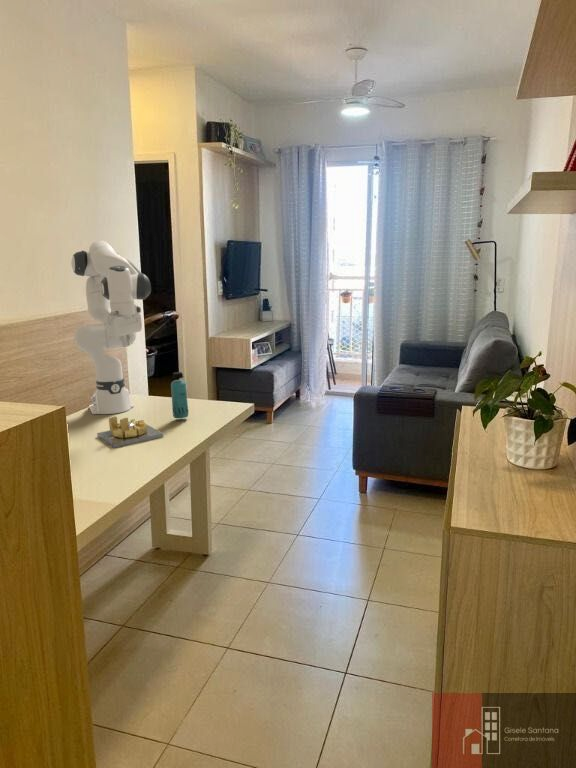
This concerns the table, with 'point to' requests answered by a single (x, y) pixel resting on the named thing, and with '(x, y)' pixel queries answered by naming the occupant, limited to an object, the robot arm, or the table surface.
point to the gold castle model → (120, 442)
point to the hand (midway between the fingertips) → (126, 346)
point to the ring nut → (126, 427)
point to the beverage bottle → (179, 396)
